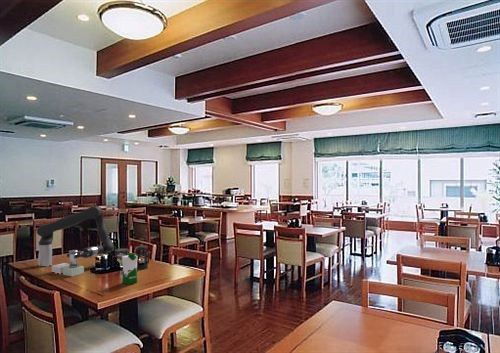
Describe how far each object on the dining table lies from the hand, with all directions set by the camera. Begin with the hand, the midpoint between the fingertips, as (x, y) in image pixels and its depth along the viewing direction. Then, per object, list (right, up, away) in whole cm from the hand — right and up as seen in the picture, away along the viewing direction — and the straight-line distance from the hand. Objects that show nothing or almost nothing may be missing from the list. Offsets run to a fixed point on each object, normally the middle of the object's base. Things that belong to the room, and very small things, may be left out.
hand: (71, 256), depth 259 cm
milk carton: (+50, -14, -21) cm, 56 cm away
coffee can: (+30, -14, +20) cm, 39 cm away
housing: (+1, -9, +2) cm, 9 cm away
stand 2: (+1, -14, +2) cm, 14 cm away
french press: (+47, -14, +18) cm, 52 cm away
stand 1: (-11, -14, +8) cm, 19 cm away
